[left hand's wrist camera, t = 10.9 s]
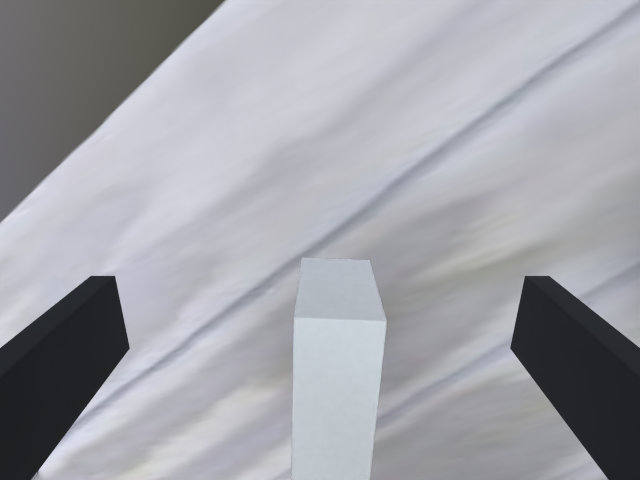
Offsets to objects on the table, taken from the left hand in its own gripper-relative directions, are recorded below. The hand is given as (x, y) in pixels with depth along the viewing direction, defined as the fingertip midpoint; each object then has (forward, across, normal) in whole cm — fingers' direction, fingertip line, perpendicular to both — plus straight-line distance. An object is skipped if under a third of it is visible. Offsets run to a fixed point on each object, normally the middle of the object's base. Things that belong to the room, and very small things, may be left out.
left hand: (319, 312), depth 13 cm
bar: (+16, +1, -19) cm, 25 cm away
